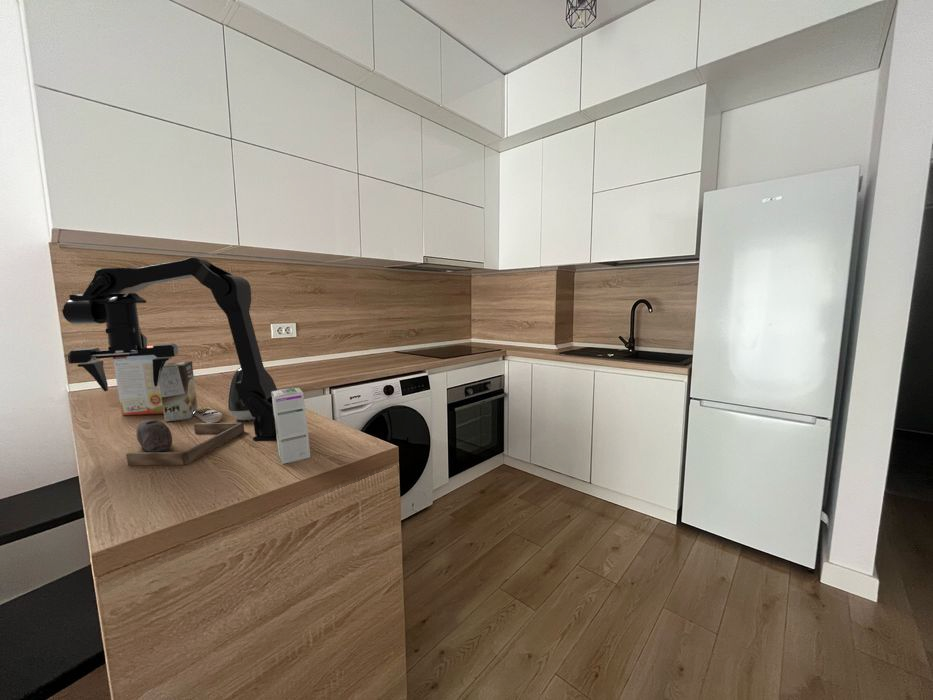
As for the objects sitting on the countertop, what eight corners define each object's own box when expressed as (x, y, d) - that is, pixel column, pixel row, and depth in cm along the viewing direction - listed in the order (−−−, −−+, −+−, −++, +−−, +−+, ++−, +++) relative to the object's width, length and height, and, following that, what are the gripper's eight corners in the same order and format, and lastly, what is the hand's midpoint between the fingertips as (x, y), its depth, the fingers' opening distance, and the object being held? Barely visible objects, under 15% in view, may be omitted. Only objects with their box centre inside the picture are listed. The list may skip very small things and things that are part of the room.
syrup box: (311, 458, 80) (305, 391, 78) (280, 465, 77) (273, 395, 75) (306, 449, 85) (300, 386, 83) (277, 455, 82) (270, 390, 80)
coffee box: (191, 418, 111) (183, 365, 108) (164, 422, 108) (156, 367, 106) (198, 410, 119) (192, 360, 117) (174, 413, 117) (166, 362, 114)
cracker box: (181, 408, 122) (172, 344, 119) (167, 414, 116) (157, 347, 113) (137, 410, 122) (127, 346, 119) (121, 416, 116) (110, 348, 113)
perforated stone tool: (133, 444, 92) (128, 416, 91) (160, 437, 96) (156, 411, 95) (146, 459, 82) (141, 429, 81) (176, 451, 86) (171, 422, 85)
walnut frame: (244, 431, 98) (243, 422, 97) (186, 464, 78) (184, 453, 78) (197, 432, 98) (195, 423, 98) (127, 465, 79) (126, 454, 79)
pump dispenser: (247, 425, 103) (241, 370, 101) (221, 421, 107) (214, 369, 105) (278, 414, 112) (273, 364, 110) (253, 411, 116) (248, 362, 114)
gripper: (178, 320, 100) (185, 378, 102) (82, 323, 91) (92, 386, 93) (169, 322, 90) (177, 386, 92) (61, 326, 81) (72, 396, 83)
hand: (131, 388), depth 90 cm, fingers open, 9 cm apart
